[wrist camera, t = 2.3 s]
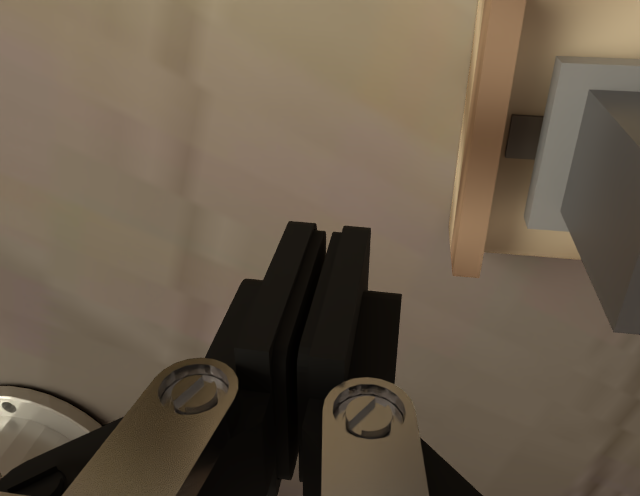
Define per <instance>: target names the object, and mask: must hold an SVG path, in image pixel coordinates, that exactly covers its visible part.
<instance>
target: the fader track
mask: <svg viewBox="0 0 640 496" xmlns="http://www.w3.org/2000/svg"><path fill="white" fill-rule="evenodd" d="M556 56H573V57H599V58H625V59H640V0H479V1H478V8H477V16H476V23H475V31H474V39H473V46H472V54H471V61H470V69H469V77H468V84H467V92H466V99H465V107H464V114H463V122H462V130H461V137H460V145H459V152H458V160H457V168H456V175H455V183H454V190H453V198H452V206H451V213H450V221H449V236H450V249H451V261H452V273H453V276H462V277H474V278H479V277H480V271H481V265H482V259H483V253H484V252H489V253H502V254H514V255H527V256H540V257H552V258H565V259H578V260H581V257H580V255H579V253H578V251H577V248H576V246H575V244H574V241H573V239H572V237H571V235H570V232H565V231H552V230H538V229H527V226H526V223H525V220H524V211H525V206H526V201H527V197H528V192H529V187H530V182H531V177H532V172H533V167H534V162H535V157H536V152H537V147H538V142H539V137H540V132H541V127H542V122H543V117H544V113H545V108H546V103H547V98H548V93H549V88H550V83H551V78H552V73H553V68H554V63H555V58H556Z"/></svg>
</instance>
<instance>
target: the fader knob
mask: <svg viewBox="0 0 640 496" xmlns="http://www.w3.org/2000/svg"><path fill="white" fill-rule="evenodd" d="M524 220H525V223H526V226H527V229H538V230H552V231H565V232H570V235H571V237H572V239H573V241H574V244H575V246H576V248H577V251H578V253H579V255H580V257H581V260H582V262H583V264H584V266H585V269H586V271H587V273H588V275H589V278H590V280H591V282H592V285H593V287H594V289H595V291H596V294H597V296H598V298H599V300H600V303H601V305H602V307H603V309H604V312H605V314H606V316H607V318H608V321H609V323H610V325H611V328H612V330H613V332H617V333H628V334H639V335H640V59H625V58H599V57H573V56H556V58H555V63H554V68H553V73H552V78H551V83H550V88H549V93H548V98H547V103H546V108H545V113H544V117H543V122H542V127H541V132H540V137H539V142H538V147H537V152H536V157H535V162H534V167H533V172H532V177H531V182H530V187H529V192H528V197H527V201H526V206H525V211H524Z"/></svg>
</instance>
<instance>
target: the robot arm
mask: <svg viewBox="0 0 640 496" xmlns="http://www.w3.org/2000/svg"><path fill="white" fill-rule="evenodd" d="M370 238H371V228H365V227H353V226H344V227H343V230H342V233H341V232H333V233H332V236H331V240H330V243H329V246H328V250H327V253H326V232H325V231H318V230H317V226H316V223H305V222H293V221H289V222H288V224H287V226H286V229H285V231H284V233H283V236H282V238H281V240H280V243H279V245H278V247H277V250H276V252H275V254H274V256H273V259H272V261H271V263H270V266H269V268H268V270H267V273H266V275H265V277H264V280H255V279H244V280H243V281H242V283H241V284H240V286H239V288H238V291H237V293H236V295H235V297H234V299H233V301H232V303H231V305H230V307H229V309H228V311H227V313H226V315H225V317H224V319H223V321H222V324H221V326H220V328H219V330H218V332H217V334H216V336H215V338H214V340H213V342H212V344H211V346H210V348H209V350H208V352H207V354H206V356H205V358H193V359H187V360H183V361H180V362H177V363H174V364H173V365H171V366H169V367H167V368H166V369H164V370H163V371H162V372H161V373H160V374H158V375H157V376H156V377H155V378H154V380H153V381H152V382H151V383H150V385H149V386H148V387H147V388H146V390H145V391H144V392H143V394H142V395H141V396H140V397H139V399H138V400H137V401H136V402H135V404H134V405H133V406H132V407H131V409H130V410H129V411H128V413H127V414H126V415H125V416H124V417H122V418H120V419H118V420H116V421H113V422H111V423H109V424H107V425H105V426H101V425H100V424H99V423H98V422H97V421H95V420H94V419H93V418H91V417H90V416H89V415H87V414H86V413H85V412H83V411H81V410H79V409H78V408H76V407H74V406H73V405H71V404H69V403H67V402H65V401H63V400H60V399H58V398H56V397H54V396H51V395H49V394H45V393H42V392H39V391H35V390H32V389H27V388H20V387H14V386H0V496H277V495H278V491H279V487H280V483H281V479H285V480H291V479H292V477H293V473H294V469H295V465H296V461H297V456H298V452H299V480H300V482H303V496H483V495H482V494H480V493H479V492H478V491H477V490H476V489H475V488H474V487H473V486H472V485H471V484H470V483H469V482H468V481H466V480H465V479H464V478H463V477H462V476H461V475H460V474H459V473H458V472H457V471H456V470H455V469H454V468H452V467H451V466H450V465H449V464H448V463H447V462H446V461H445V460H444V459H443V458H442V457H441V456H440V455H438V454H437V453H436V452H435V451H434V450H433V449H432V448H431V447H430V446H429V445H428V444H427V443H426V442H424V441H423V440H422V439H421V438H420V435H419V429H418V423H417V416H416V411H415V408H414V405H413V402H412V400H411V399H410V398H409V396H408V395H407V394H406V393H405V392H404V391H403V390H402V389H400V388H399V387H397V386H396V385H394V383H395V371H396V359H397V347H398V334H399V322H400V310H401V298H402V294H397V293H387V292H376V291H368V274H369V256H370Z"/></svg>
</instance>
